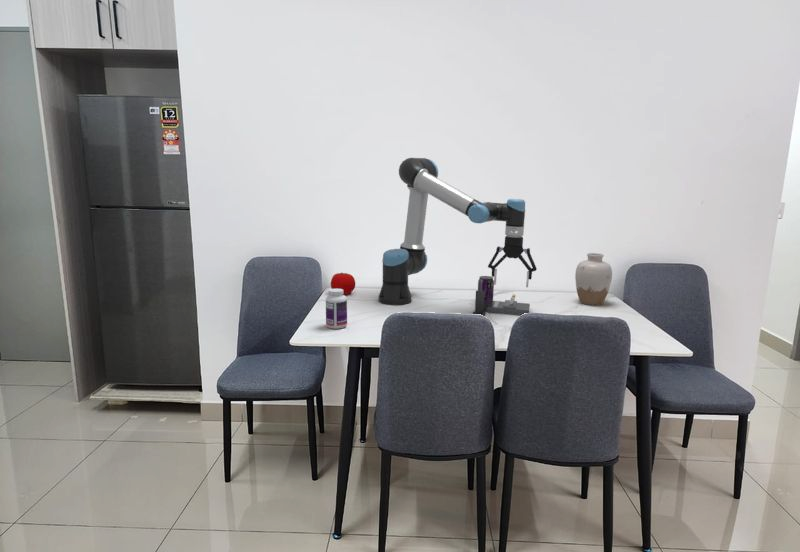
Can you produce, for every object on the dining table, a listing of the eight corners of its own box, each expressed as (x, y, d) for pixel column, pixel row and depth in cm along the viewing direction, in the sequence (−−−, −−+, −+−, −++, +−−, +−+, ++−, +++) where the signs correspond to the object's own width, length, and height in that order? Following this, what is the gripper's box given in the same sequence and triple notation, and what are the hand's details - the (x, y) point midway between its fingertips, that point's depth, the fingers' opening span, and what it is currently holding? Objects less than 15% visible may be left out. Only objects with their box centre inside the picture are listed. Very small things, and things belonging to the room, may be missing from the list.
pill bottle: (347, 323, 208) (347, 287, 206) (346, 329, 201) (346, 292, 198) (327, 323, 208) (326, 287, 205) (324, 329, 200) (324, 292, 197)
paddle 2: (509, 303, 226) (512, 298, 225) (509, 301, 229) (512, 296, 228) (511, 304, 226) (514, 299, 225) (512, 302, 229) (515, 298, 228)
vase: (577, 297, 258) (581, 250, 253) (612, 301, 250) (616, 253, 245) (569, 304, 244) (573, 254, 240) (605, 309, 236) (610, 258, 232)
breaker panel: (475, 311, 229) (476, 303, 228) (479, 305, 240) (479, 297, 239) (528, 316, 223) (528, 308, 222) (529, 309, 234) (529, 301, 234)
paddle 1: (510, 300, 231) (512, 295, 230) (510, 298, 234) (513, 294, 233) (512, 301, 231) (515, 296, 230) (513, 300, 233) (515, 295, 233)
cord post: (472, 315, 223) (473, 292, 221) (473, 312, 228) (474, 289, 226) (484, 316, 221) (485, 293, 219) (486, 313, 226) (487, 290, 224)
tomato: (325, 293, 259) (325, 272, 257) (345, 289, 266) (345, 269, 264) (340, 297, 250) (340, 275, 248) (360, 294, 258) (360, 273, 256)
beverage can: (492, 305, 240) (493, 279, 238) (476, 304, 242) (477, 278, 239) (493, 301, 247) (494, 276, 245) (477, 300, 248) (478, 275, 246)
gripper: (483, 235, 224) (480, 284, 228) (544, 238, 218) (540, 289, 222) (485, 233, 231) (482, 281, 235) (544, 236, 225) (541, 285, 229)
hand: (510, 285), depth 229 cm, fingers open, 13 cm apart
